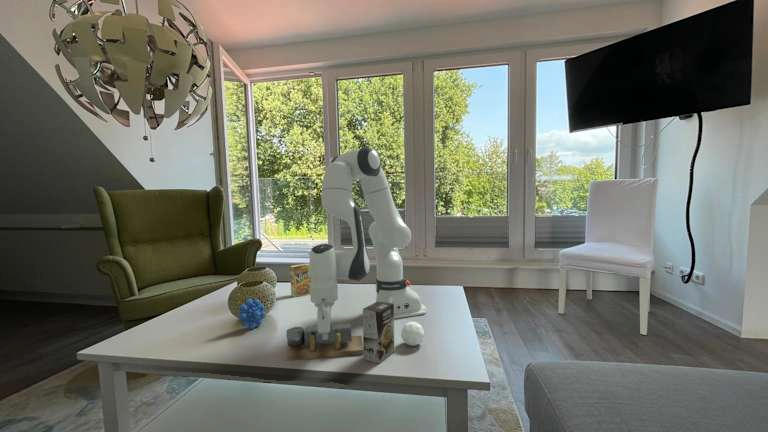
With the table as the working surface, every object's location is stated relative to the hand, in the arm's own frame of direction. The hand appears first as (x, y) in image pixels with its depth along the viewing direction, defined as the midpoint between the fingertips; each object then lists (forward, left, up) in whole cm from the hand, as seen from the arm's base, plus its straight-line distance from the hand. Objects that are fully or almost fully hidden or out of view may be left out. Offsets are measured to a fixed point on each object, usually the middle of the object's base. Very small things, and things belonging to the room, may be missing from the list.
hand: (325, 335), depth 117 cm
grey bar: (+2, 0, -2) cm, 3 cm away
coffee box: (-17, +7, -5) cm, 19 cm away
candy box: (+15, -63, -5) cm, 65 cm away
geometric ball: (-29, +1, -5) cm, 29 cm away
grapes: (+28, -22, -5) cm, 36 cm away
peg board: (0, 0, -5) cm, 5 cm away
